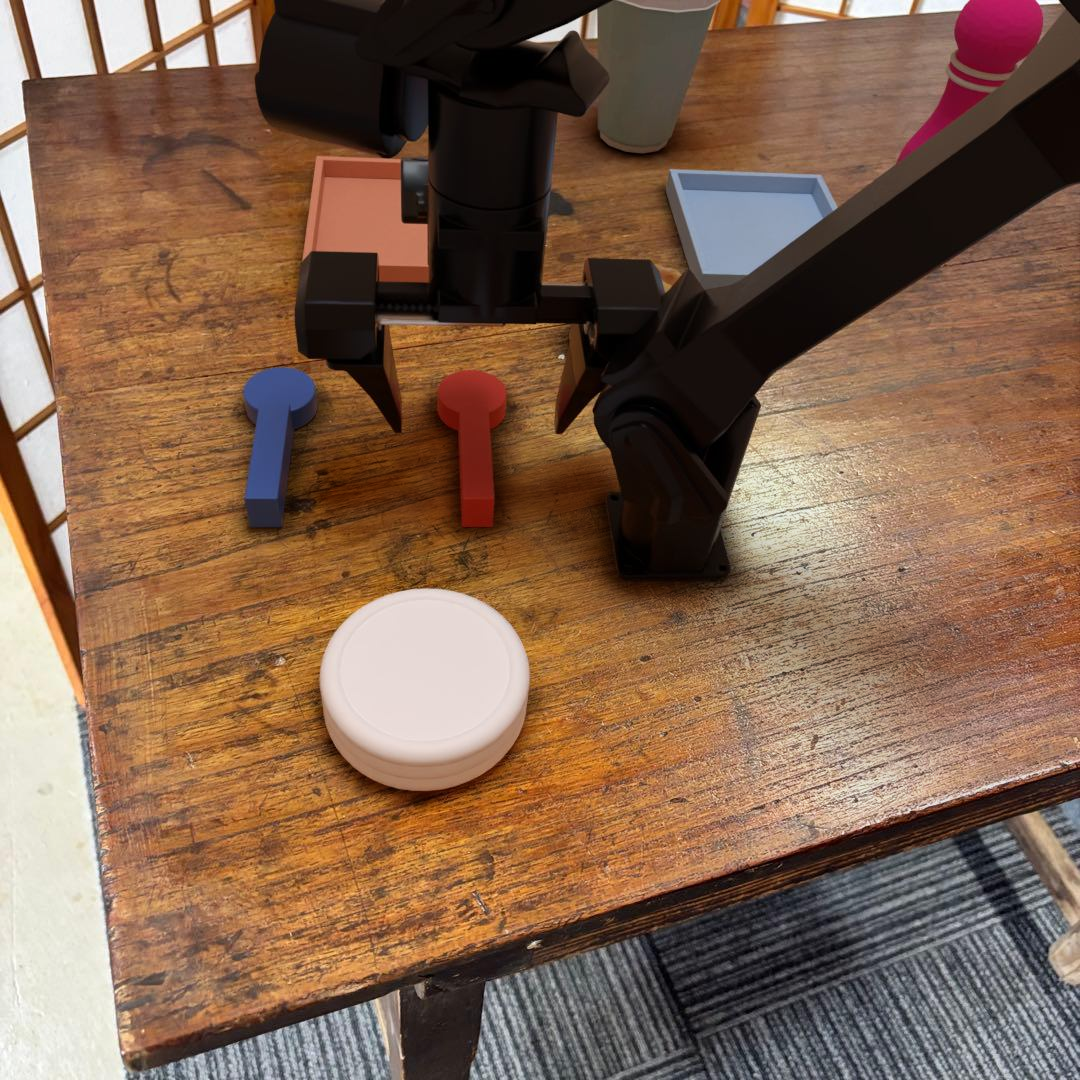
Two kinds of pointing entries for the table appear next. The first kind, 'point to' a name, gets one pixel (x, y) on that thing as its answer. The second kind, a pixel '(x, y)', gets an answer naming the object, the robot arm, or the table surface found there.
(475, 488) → the red spoon
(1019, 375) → the table surface
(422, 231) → the red tray
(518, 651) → the white round tin
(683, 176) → the blue tray
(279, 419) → the blue spoon
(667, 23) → the disposable coffee cup
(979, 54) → the pepper mill
